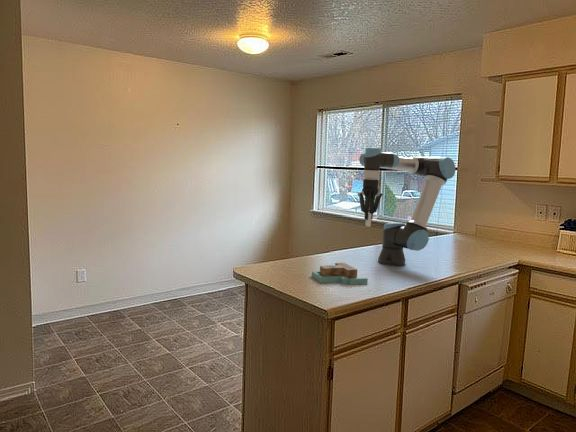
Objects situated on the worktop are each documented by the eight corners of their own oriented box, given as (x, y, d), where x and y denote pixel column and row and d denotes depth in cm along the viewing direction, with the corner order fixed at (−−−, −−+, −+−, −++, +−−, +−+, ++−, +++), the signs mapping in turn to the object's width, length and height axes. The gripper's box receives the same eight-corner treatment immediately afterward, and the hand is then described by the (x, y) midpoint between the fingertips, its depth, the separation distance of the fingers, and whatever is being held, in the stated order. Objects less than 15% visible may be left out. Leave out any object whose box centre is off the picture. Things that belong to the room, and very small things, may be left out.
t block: (343, 274, 216) (344, 262, 215) (356, 282, 202) (357, 269, 202) (315, 275, 211) (316, 263, 210) (327, 283, 198) (328, 270, 197)
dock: (347, 271, 220) (347, 267, 220) (367, 283, 200) (367, 278, 200) (308, 273, 213) (308, 268, 213) (324, 286, 194) (325, 280, 193)
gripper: (378, 178, 217) (375, 224, 221) (355, 178, 213) (352, 225, 216) (386, 179, 210) (383, 227, 214) (362, 179, 206) (359, 227, 209)
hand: (367, 226), depth 215 cm, fingers closed
